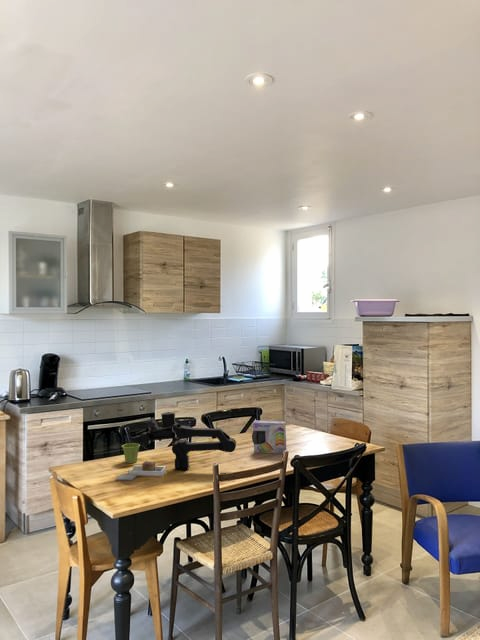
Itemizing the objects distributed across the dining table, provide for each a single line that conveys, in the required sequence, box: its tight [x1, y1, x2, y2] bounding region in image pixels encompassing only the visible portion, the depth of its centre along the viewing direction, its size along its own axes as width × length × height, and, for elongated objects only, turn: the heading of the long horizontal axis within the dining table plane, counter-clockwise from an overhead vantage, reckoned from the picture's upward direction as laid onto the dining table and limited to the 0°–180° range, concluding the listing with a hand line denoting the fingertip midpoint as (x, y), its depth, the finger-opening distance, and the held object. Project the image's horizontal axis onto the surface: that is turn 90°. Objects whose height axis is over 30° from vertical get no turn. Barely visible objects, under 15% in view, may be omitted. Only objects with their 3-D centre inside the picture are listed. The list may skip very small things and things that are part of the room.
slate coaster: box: [115, 473, 139, 482], centre depth 246 cm, size 8×8×1 cm
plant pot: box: [121, 442, 141, 464], centre depth 275 cm, size 9×9×9 cm
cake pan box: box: [251, 419, 287, 455], centre depth 293 cm, size 19×5×18 cm, turn 73°
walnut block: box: [141, 460, 156, 471], centre depth 255 cm, size 5×5×5 cm
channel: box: [127, 465, 167, 477], centre depth 255 cm, size 17×9×2 cm, turn 84°
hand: (133, 436), depth 263 cm, fingers open, 9 cm apart
